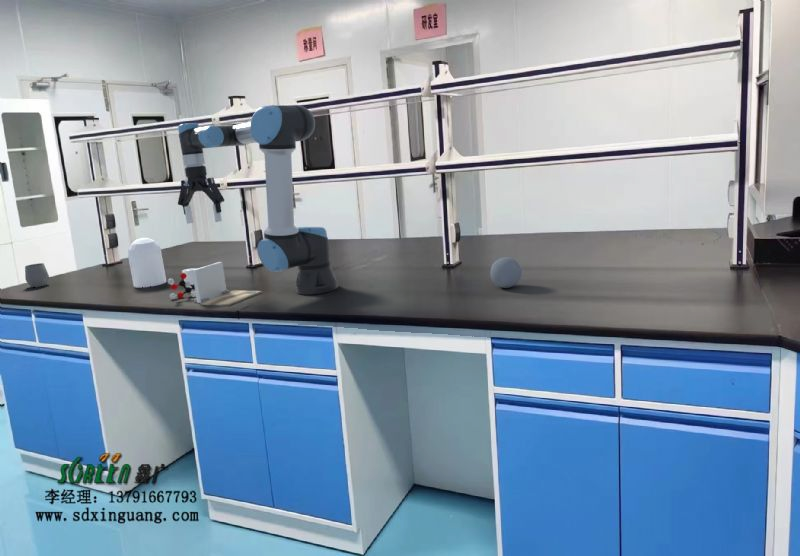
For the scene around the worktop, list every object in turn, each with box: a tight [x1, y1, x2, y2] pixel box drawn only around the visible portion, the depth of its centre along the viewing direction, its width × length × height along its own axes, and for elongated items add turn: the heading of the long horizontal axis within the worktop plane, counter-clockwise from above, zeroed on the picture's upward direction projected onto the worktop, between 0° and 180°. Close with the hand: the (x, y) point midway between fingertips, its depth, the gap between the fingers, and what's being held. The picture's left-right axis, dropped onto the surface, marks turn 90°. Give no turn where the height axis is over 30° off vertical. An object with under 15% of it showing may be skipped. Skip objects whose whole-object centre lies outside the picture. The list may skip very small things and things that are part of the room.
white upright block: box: [181, 267, 199, 288], centre depth 243 cm, size 6×6×8 cm
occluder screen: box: [192, 261, 231, 304], centre depth 225 cm, size 5×14×12 cm, turn 154°
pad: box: [199, 289, 263, 307], centre depth 222 cm, size 13×18×1 cm
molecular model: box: [167, 272, 196, 300], centre depth 230 cm, size 16×8×10 cm, turn 152°
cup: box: [24, 262, 50, 288], centre depth 281 cm, size 10×9×10 cm
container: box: [127, 237, 167, 289], centre depth 262 cm, size 14×13×20 cm
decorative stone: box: [489, 256, 522, 289], centre depth 200 cm, size 10×10×10 cm
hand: (204, 222), depth 234 cm, fingers open, 13 cm apart
